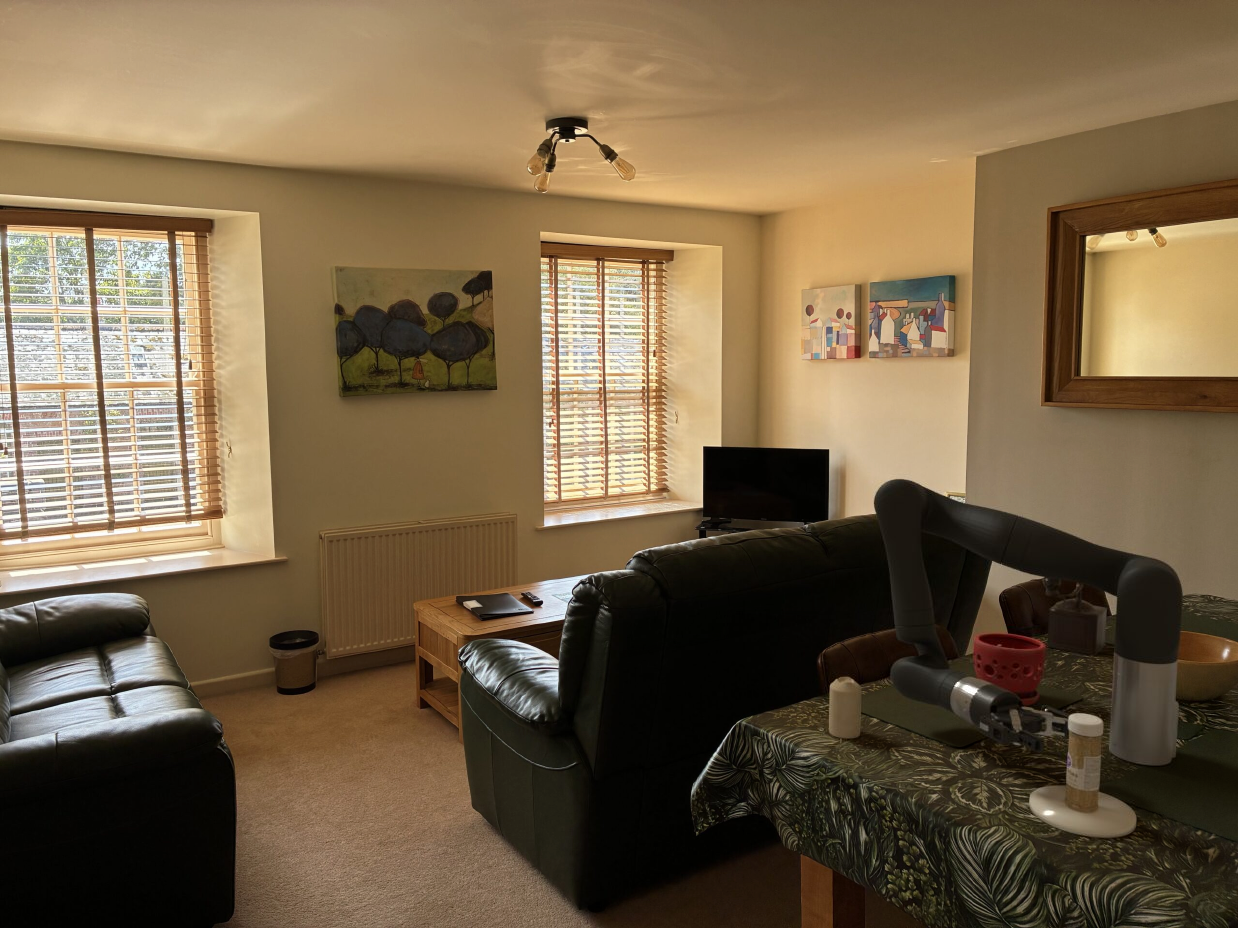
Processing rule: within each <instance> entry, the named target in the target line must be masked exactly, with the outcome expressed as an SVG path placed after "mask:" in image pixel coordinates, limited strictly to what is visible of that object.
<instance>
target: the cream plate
mask: <svg viewBox="0 0 1238 928" xmlns="http://www.w3.org/2000/svg"><path fill="white" fill-rule="evenodd" d="M1065 797H1066V785H1061V784H1060V785H1047V786H1042V787H1039V788H1036V789H1035V790H1033V791H1032V792H1031V793H1030V795H1029V802H1028V803H1029V809H1030V811H1031V812H1032V813H1033V815H1034V816H1036V817H1037V818H1038V819H1040V821H1042V822H1044V823H1046V824H1048V825H1049V826H1051V827H1054V828H1057V829H1058V830H1061V831H1065V832H1067V833H1070V834H1074V835H1079V836H1084V837H1088V838H1089V837H1090V838H1091V837H1092V838H1102V839H1111V838H1119V837H1124V836H1128V835H1129V834H1131V833H1133V832H1134V831H1135V830H1136V827H1137V815H1136V812H1135V811H1134V810H1133V809H1132V808H1131V807H1130V806H1129V805H1128V804H1127V803H1125V802H1124V801H1122V800H1120V799H1118V798H1116V797H1114V796H1112V795H1109V794H1106V793H1104V792H1101V791H1098V806H1099V807H1098V810H1096V811H1093V812H1081V811H1077V810H1074V809H1072V808H1070V807H1069V806H1067V805H1066V803H1065Z"/></svg>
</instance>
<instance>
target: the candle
mask: <svg viewBox="0 0 1238 928" xmlns="http://www.w3.org/2000/svg"><path fill="white" fill-rule="evenodd" d="M828 703H829V708H828V713H829V714H828V716H829V717H828V732H829V734H830V735H831V736H834V737H836V738H840V739H847V740H848V739H856V738H859V736H860V735H861V727H862V725H861V724H862V723H861V721H862V720H861V719H862V718H861V717H862V687H861V685H860V684H859V683H857V681H855V680H854V679H853V678H851V677H850V676H840V677H839V678H836V679H835V680H834V681H833V682H831V683H830V685H829V702H828Z"/></svg>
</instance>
